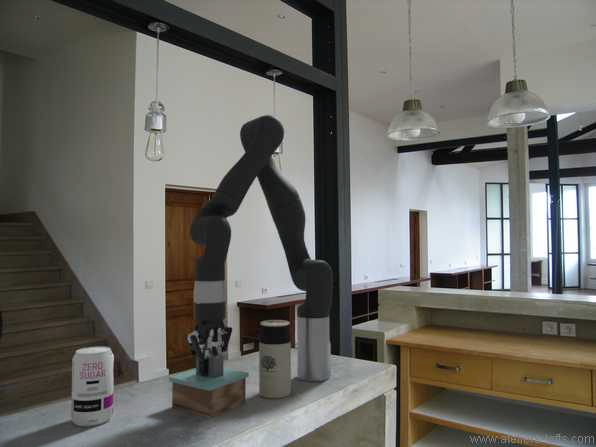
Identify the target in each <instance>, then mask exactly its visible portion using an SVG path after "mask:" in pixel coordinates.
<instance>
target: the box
mask: <svg viewBox="0 0 596 447" xmlns="http://www.w3.org/2000/svg"><path fill="white" fill-rule="evenodd" d="M246 379H247V378H244V379H241V380H239V381H236V382H233V383H230V384H227V385H225V386H222V387H219V388H216V389H213V390H211V391H208V390H204V389H199V388H195V387H191V386H187V385H183V384H178V383H174V382H171V383H172V386H171V387H172V388H171V389H172V390H171V391H172V393H171V395H172V396H171V398H172V402H171V405H172V406H171V408H174V409H177V410H180V411H183V412H188V413H191V414H194V415H198V416H201V417H204V418H208V419H210V418H212V417H215V416H218V415H219V414H222V413H225V412H226V411H229V410H231V409H234V408H237V407H238V406H241V405H244V404H246V401H247V399H246V396H247V394H246V390H247V389H246V386H247V384H246Z"/></svg>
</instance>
